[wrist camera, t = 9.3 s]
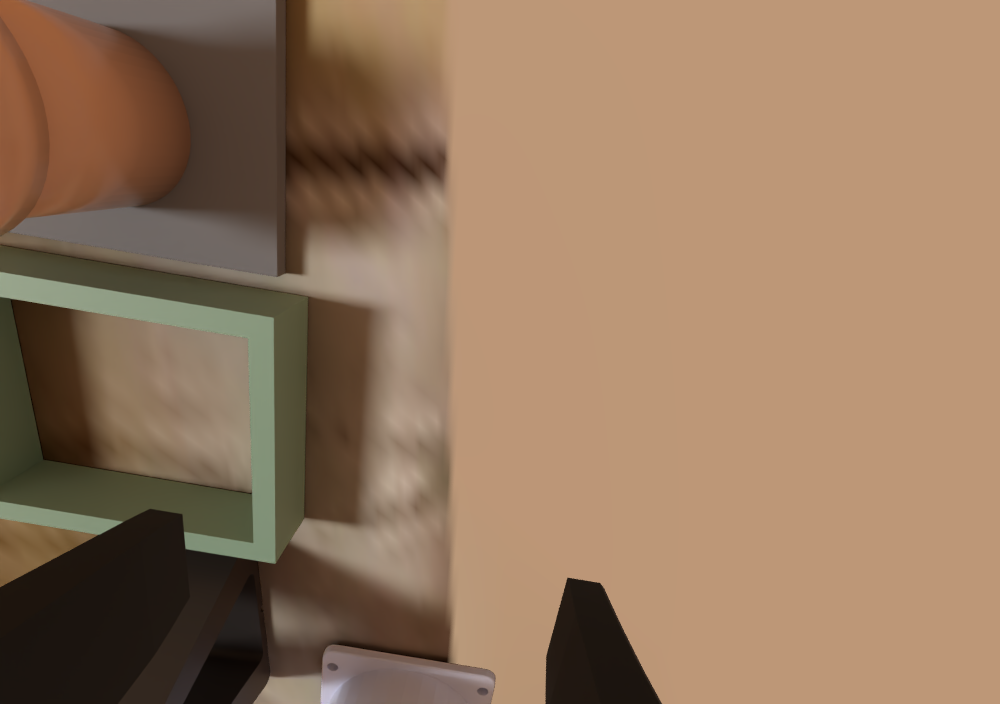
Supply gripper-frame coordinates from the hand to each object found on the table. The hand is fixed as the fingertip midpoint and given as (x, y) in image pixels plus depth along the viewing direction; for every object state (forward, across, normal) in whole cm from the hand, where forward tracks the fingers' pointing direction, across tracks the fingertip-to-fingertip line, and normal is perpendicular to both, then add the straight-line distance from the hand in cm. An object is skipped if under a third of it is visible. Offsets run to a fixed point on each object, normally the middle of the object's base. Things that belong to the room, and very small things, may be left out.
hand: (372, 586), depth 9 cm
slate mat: (+9, +11, -8) cm, 16 cm away
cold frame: (+9, +11, +2) cm, 15 cm away
